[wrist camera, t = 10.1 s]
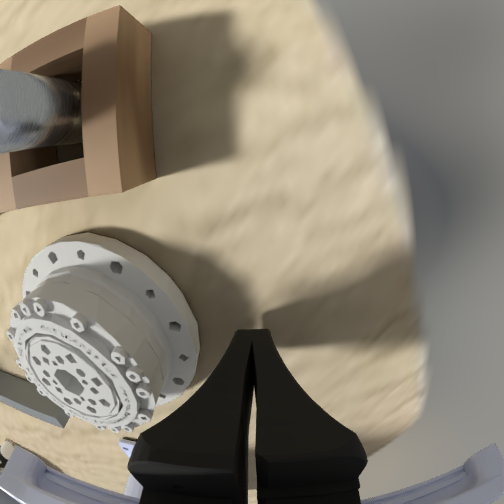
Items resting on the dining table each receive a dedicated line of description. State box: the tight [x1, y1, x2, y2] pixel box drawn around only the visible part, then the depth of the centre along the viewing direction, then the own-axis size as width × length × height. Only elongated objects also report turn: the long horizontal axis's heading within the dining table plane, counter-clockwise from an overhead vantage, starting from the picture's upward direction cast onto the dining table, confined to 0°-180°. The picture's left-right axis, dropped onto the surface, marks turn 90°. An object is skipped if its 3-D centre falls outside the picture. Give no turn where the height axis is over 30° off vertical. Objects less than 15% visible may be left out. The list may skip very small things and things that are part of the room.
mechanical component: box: [6, 232, 200, 433], centre depth 11 cm, size 10×4×10 cm
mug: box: [0, 439, 22, 475], centre depth 21 cm, size 10×7×7 cm, turn 104°
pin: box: [0, 69, 83, 154], centre depth 7 cm, size 2×2×6 cm
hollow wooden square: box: [0, 5, 156, 213], centre depth 8 cm, size 6×6×3 cm
